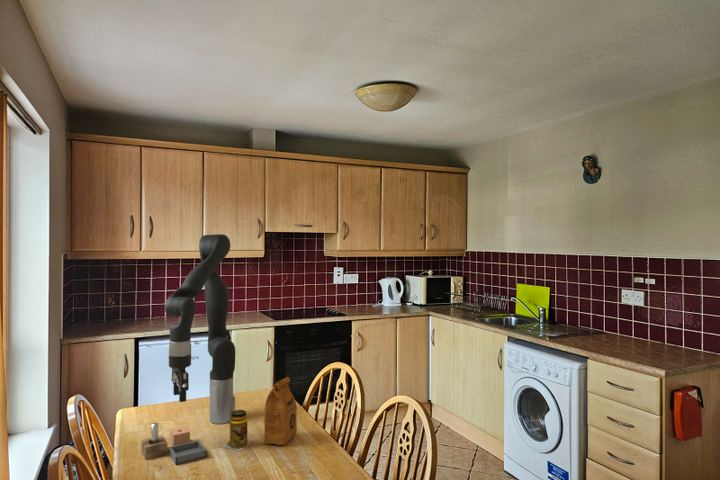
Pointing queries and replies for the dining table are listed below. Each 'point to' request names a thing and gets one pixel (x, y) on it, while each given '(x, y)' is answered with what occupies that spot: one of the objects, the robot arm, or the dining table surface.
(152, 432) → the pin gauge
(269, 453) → the dining table surface
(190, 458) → the tray
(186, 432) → the block
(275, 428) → the coffee package
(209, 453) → the dining table surface
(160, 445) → the go block
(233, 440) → the condiment
